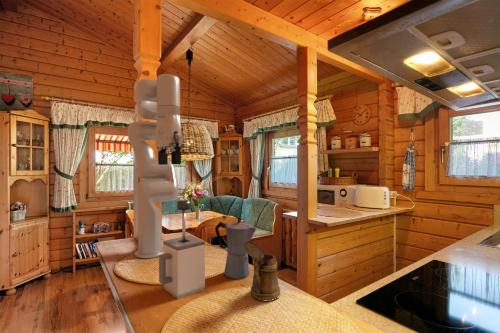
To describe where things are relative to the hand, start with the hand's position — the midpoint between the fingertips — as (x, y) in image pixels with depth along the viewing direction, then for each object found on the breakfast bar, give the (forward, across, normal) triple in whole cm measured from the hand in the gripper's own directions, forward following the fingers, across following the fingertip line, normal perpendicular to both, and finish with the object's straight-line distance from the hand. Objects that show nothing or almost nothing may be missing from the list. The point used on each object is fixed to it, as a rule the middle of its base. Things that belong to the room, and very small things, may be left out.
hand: (169, 164), depth 94 cm
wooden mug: (+40, +29, +14) cm, 51 cm away
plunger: (+27, +9, 0) cm, 29 cm away
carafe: (+39, +9, -1) cm, 40 cm away
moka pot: (+39, +10, +19) cm, 45 cm away
